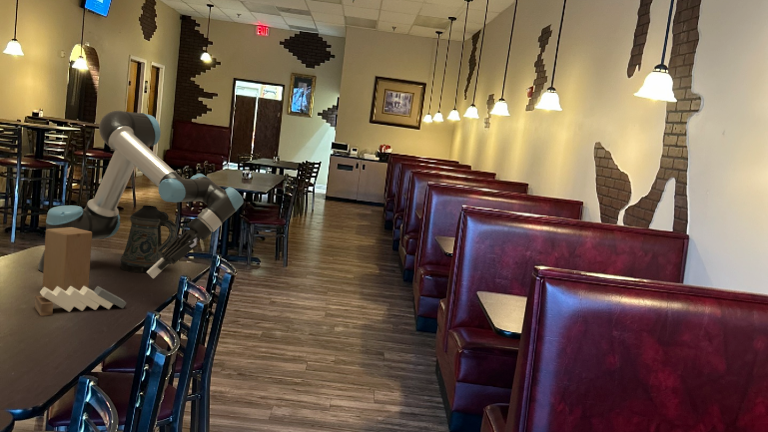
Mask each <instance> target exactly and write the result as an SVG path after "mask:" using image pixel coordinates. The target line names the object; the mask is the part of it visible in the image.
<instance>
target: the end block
mask: <svg viewBox="0 0 768 432" xmlns="http://www.w3.org/2000/svg"><path fill="white" fill-rule="evenodd" d="M34 308H35V310H36V311H37V313H38V314H39V315H40V317H44V316H46V317H47V316H53V312H54V311H53V309H54V303H53V302H52V301H50V300H48V299H46V298H45V297H43V296H42V295H35V298H34Z"/></svg>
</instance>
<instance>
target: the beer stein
mask: <svg viewBox="0 0 768 432" xmlns="http://www.w3.org/2000/svg"><path fill="white" fill-rule="evenodd" d="M129 217H130V218H129V220H130V222H131V225H130V228H129V234H128V238H127V241H126V245H125V248H124V251H123V254H122V255H121V257H120V269H122V270H123V271H126V272H131V273H138V274H148V273H147V271H148V270H149V269H150V268H151V267H152V266H153V265H154V264H156V263H157V262H158V261H159V260H160V259H161V258H162V255H161V254H162V253H163V252H164V251H165V249H166V248H167V247H168V246H169V245H170V244H171V243H172V242H173V241H174V240H175V238H176V237H177V226H176V223H175V222H174V221H172V220H171V219H169V218H170V217H169V215H168V212H166V211H162V210H161V211H160V210H159V209H158V207H157V206H155V205H142V207H141V208H139V209H138V210H136V211H135V212H133V213H132V214H131V215H130V216H129ZM161 227H165V228H167V229H168V231H169V234H168V236H167V238H166V239H165V240H164V241H163V240H162V228H161ZM162 241H163V242H162Z"/></svg>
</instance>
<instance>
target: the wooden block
mask: <svg viewBox="0 0 768 432" xmlns="http://www.w3.org/2000/svg"><path fill="white" fill-rule="evenodd" d="M92 240H93V239H92V232H91V231H86V230H82V229H78V228H73V227H66V228H54V229H46V228H45V237H44V250H45V254H44V270H43V272H42V273H43V274H42V289H43V287H46V288H48V289H49V290H51V291H53V290H54V289H55V288H56V287H57V286H58V287H60V288H61V289H63V290H65V291H67V289H68V288H69V287H70V286H72V287H73V288H75V289H77V290H79V291H80V290H81V289H82V287H83V286H85V287H87V288H90V287H89V285H90V271H91V270H90V269H91V257H92V255H91V253H92V244H93V243H92Z"/></svg>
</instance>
